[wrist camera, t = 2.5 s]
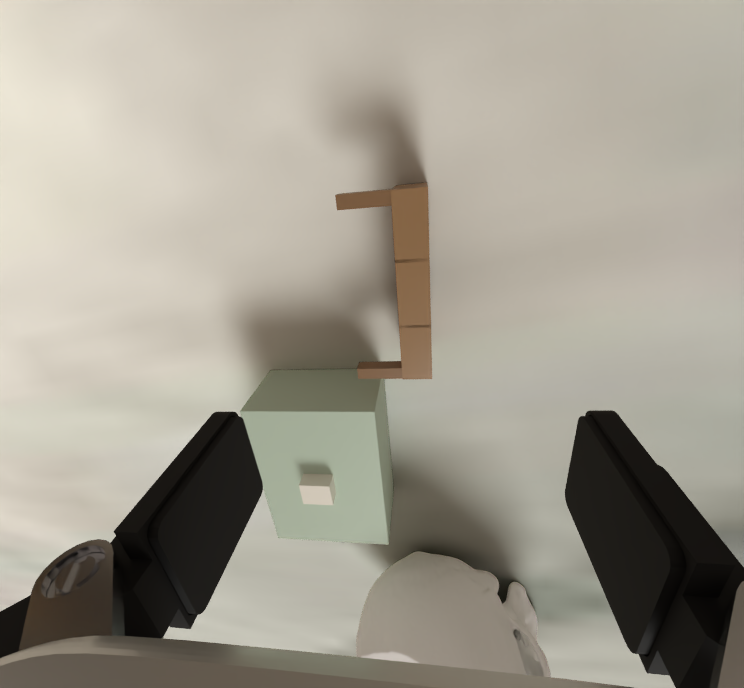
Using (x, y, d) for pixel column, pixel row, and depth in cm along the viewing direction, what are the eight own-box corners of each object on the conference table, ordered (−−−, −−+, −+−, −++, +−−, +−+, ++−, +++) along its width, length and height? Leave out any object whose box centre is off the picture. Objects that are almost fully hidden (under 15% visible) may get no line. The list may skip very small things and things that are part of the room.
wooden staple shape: (351, 189, 25) (334, 195, 20) (427, 182, 24) (427, 186, 19) (367, 347, 30) (358, 379, 25) (430, 346, 29) (432, 378, 25)
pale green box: (270, 370, 32) (232, 421, 26) (383, 368, 30) (372, 422, 24) (298, 485, 38) (273, 550, 32) (393, 489, 37) (387, 558, 30)
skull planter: (499, 670, 45) (458, 884, 29) (394, 532, 50) (308, 648, 34) (594, 631, 40) (611, 873, 23) (465, 481, 45) (403, 590, 28)
